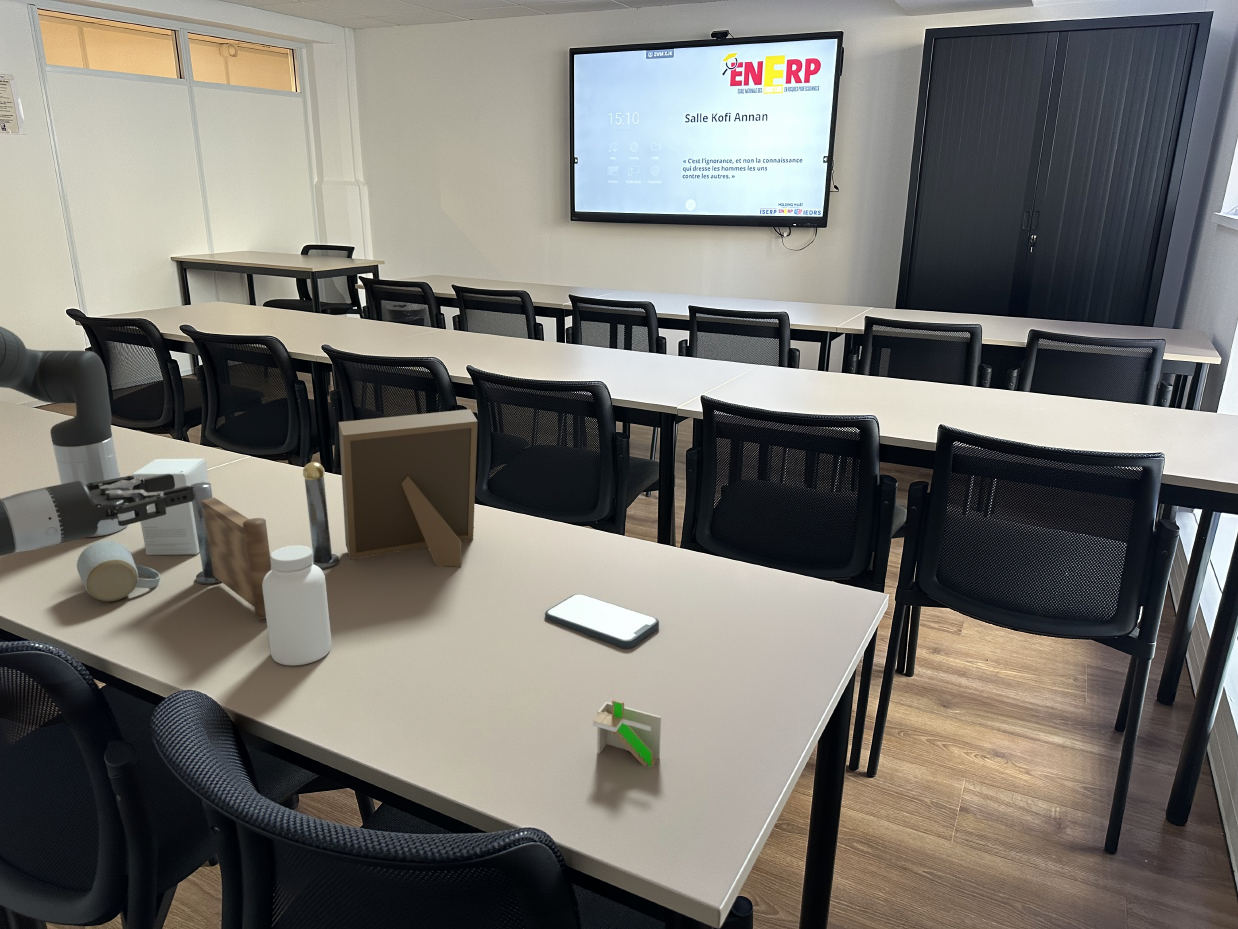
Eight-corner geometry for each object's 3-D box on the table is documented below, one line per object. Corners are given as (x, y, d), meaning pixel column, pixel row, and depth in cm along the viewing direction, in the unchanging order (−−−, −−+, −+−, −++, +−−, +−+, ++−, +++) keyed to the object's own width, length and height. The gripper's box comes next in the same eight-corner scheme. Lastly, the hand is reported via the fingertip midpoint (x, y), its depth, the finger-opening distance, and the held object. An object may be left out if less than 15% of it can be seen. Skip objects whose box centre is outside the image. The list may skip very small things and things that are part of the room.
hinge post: (203, 571, 141) (189, 480, 136) (235, 570, 142) (222, 479, 137) (191, 585, 137) (176, 491, 131) (225, 584, 137) (211, 490, 132)
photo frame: (346, 550, 150) (333, 413, 142) (466, 531, 159) (461, 401, 151) (360, 585, 137) (347, 437, 129) (490, 562, 146) (486, 423, 138)
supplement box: (219, 535, 156) (207, 457, 151) (197, 555, 147) (184, 473, 143) (168, 535, 156) (155, 457, 151) (144, 555, 147) (129, 473, 142)
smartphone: (541, 622, 128) (628, 653, 119) (540, 612, 127) (628, 643, 118) (577, 600, 135) (662, 628, 126) (577, 591, 134) (662, 618, 125)
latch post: (311, 557, 147) (300, 458, 142) (342, 556, 148) (332, 457, 142) (303, 570, 142) (292, 467, 137) (335, 568, 143) (325, 467, 137)
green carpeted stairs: (646, 782, 94) (648, 719, 91) (590, 765, 96) (590, 704, 94) (659, 761, 97) (661, 700, 95) (605, 745, 100) (605, 685, 97)
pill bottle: (344, 643, 120) (334, 545, 115) (306, 672, 113) (294, 569, 108) (297, 633, 122) (286, 537, 118) (258, 661, 115) (244, 560, 111)
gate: (210, 579, 136) (196, 494, 132) (228, 573, 138) (216, 490, 134) (260, 619, 124) (248, 527, 120) (280, 612, 126) (269, 522, 122)
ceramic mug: (89, 610, 128) (81, 563, 126) (80, 590, 134) (72, 545, 132) (167, 591, 135) (160, 547, 132) (155, 573, 141) (148, 530, 138)
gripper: (58, 503, 104) (199, 473, 116) (27, 476, 114) (160, 450, 125) (70, 559, 107) (206, 524, 118) (39, 528, 116) (168, 498, 127)
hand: (182, 486), depth 122 cm, fingers open, 6 cm apart
